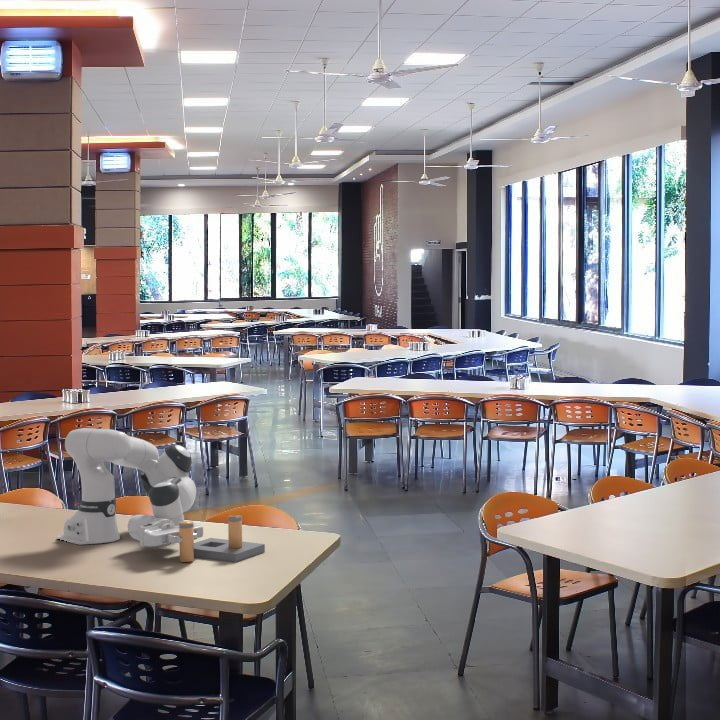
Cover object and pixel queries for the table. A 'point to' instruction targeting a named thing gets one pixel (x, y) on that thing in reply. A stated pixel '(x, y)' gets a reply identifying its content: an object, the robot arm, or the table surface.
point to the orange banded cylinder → (186, 541)
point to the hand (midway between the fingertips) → (188, 538)
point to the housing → (228, 544)
